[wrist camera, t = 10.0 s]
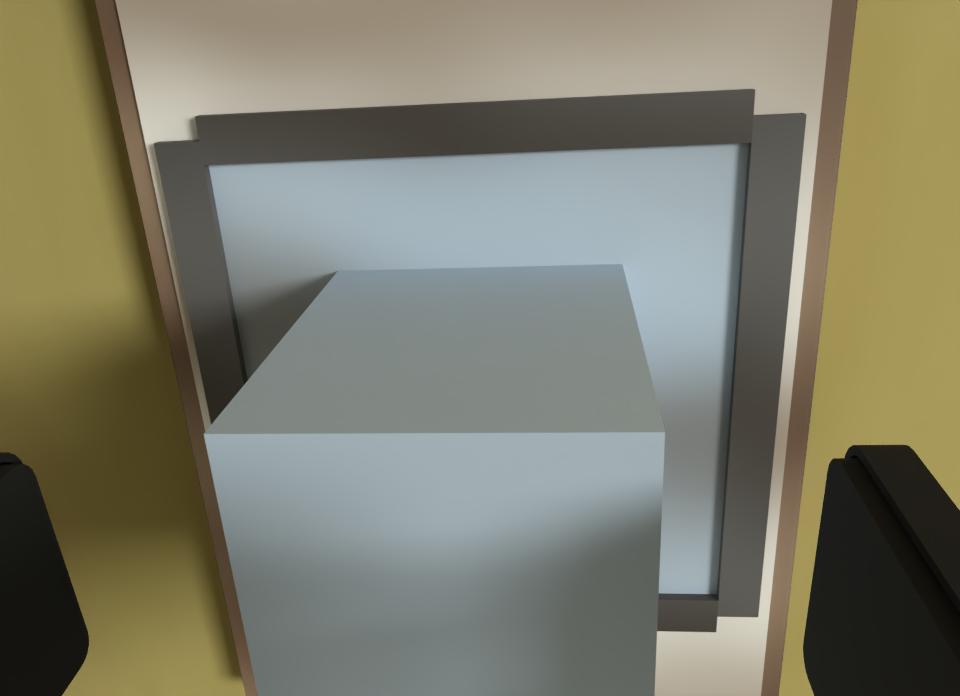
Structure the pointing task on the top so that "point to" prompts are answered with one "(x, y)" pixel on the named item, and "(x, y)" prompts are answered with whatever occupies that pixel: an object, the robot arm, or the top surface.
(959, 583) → the robot arm
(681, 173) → the picture board
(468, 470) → the blue block
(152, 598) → the top surface
